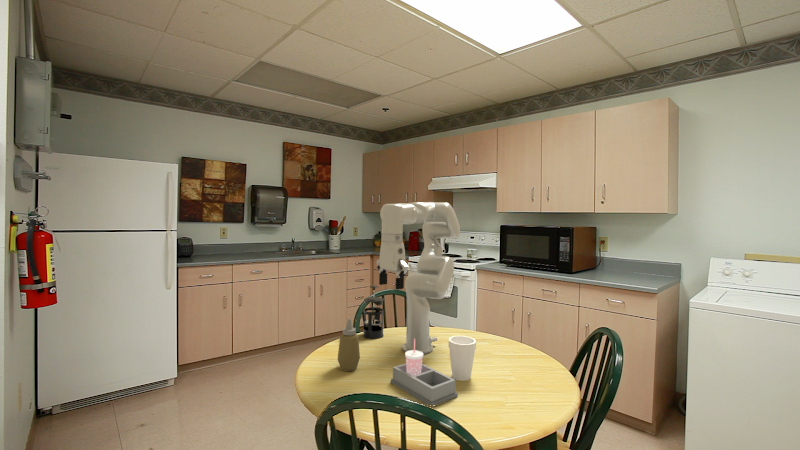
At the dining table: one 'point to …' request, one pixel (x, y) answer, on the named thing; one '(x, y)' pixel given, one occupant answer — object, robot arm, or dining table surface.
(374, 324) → the french press
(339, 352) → the squeeze bottle
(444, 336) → the dining table surface
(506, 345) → the dining table surface
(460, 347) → the foam cup
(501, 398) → the dining table surface
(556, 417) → the dining table surface
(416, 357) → the beverage cup
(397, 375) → the compartment organizer caddy
